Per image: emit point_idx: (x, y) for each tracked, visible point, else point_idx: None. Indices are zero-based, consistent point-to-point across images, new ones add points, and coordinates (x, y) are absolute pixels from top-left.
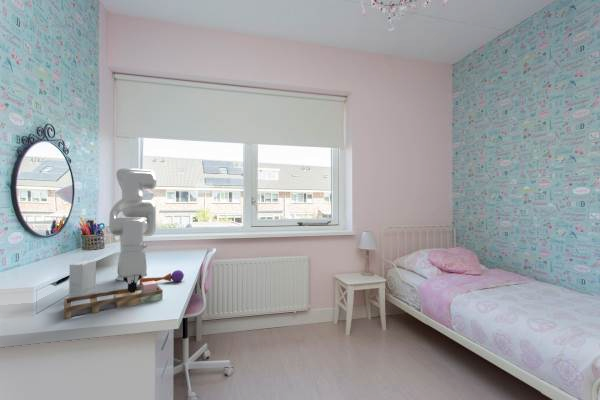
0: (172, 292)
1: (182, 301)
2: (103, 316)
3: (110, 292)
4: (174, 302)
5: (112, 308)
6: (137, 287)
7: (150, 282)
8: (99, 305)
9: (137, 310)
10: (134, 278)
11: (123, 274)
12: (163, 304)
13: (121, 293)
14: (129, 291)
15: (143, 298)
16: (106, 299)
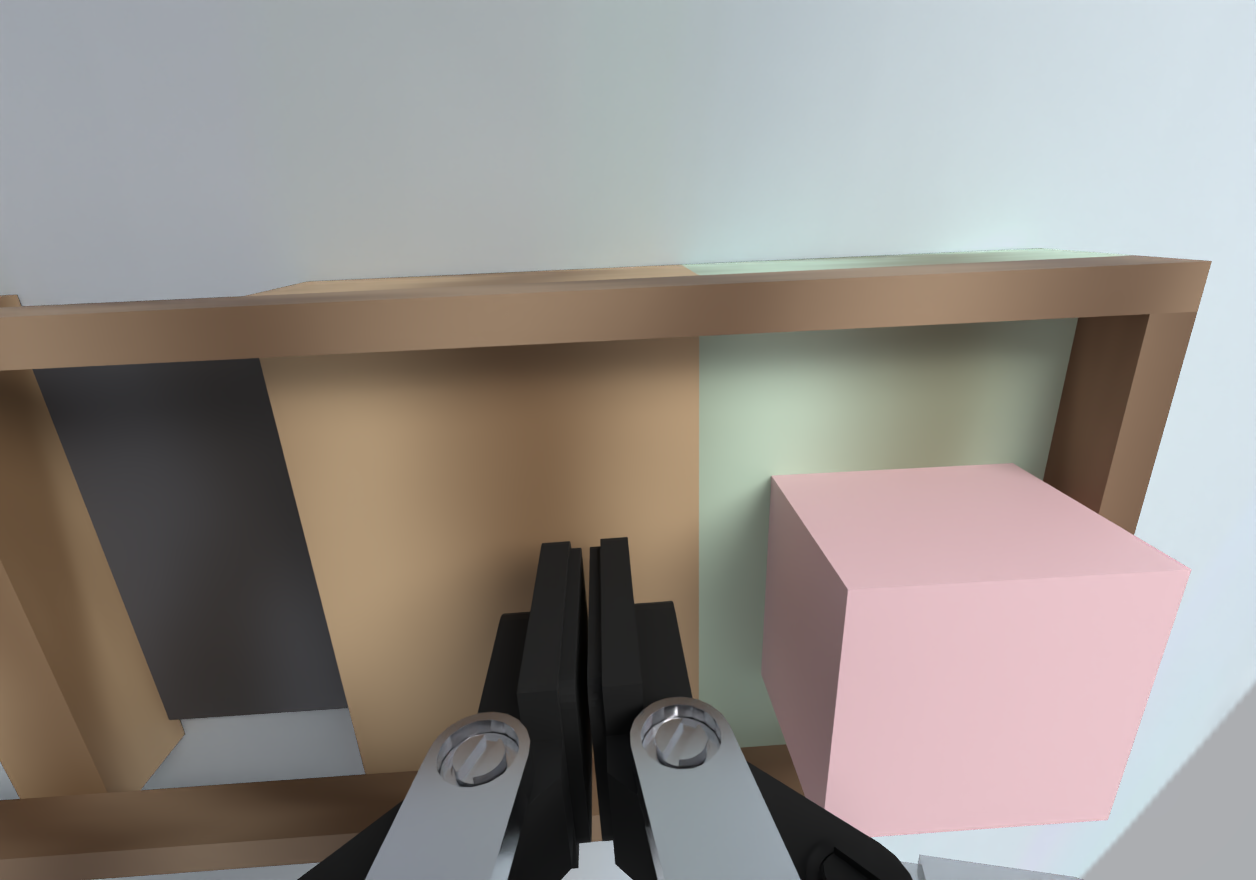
0: (1223, 450)
1: (1092, 855)
2: (274, 871)
3: (134, 355)
4: (1012, 843)
5: (337, 701)
6: (741, 328)
7: (1026, 705)
8: (118, 510)
9: (611, 875)
10: (667, 828)
11: None
12: (893, 843)
13: (399, 363)
14: (544, 549)
15: None
16: (171, 849)
